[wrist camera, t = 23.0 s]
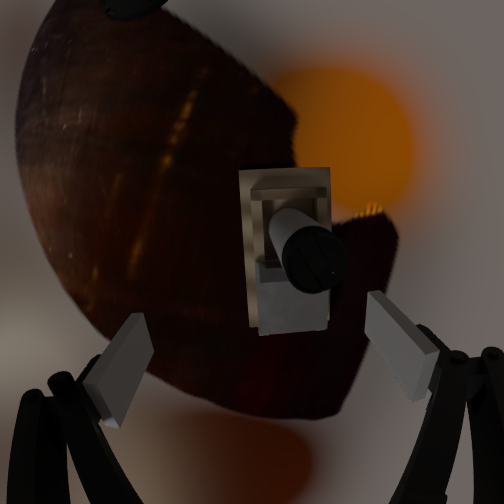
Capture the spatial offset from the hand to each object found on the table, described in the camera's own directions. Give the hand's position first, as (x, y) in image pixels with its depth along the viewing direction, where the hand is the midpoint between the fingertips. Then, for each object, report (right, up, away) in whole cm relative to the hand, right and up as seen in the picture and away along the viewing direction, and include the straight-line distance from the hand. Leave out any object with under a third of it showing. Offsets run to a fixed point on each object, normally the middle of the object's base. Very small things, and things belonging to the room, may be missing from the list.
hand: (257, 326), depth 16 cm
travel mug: (+5, +8, +29) cm, 30 cm away
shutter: (+6, -3, +28) cm, 29 cm away
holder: (+5, +4, +31) cm, 31 cm away
